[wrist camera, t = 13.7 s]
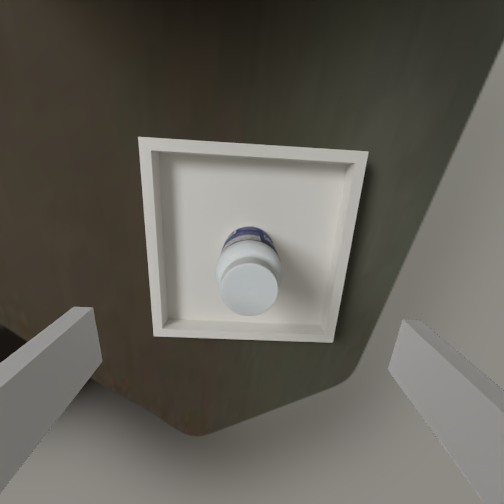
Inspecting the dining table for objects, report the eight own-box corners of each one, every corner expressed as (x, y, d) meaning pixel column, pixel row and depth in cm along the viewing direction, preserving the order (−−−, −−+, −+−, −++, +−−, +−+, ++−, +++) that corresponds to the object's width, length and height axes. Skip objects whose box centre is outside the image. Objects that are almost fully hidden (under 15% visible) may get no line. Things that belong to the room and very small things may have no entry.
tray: (161, 322, 28) (153, 336, 26) (149, 141, 22) (138, 136, 20) (325, 329, 29) (332, 342, 27) (356, 154, 23) (368, 151, 21)
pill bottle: (277, 268, 26) (294, 318, 16) (229, 277, 26) (220, 331, 17) (269, 220, 24) (283, 245, 15) (218, 229, 24) (200, 261, 15)
